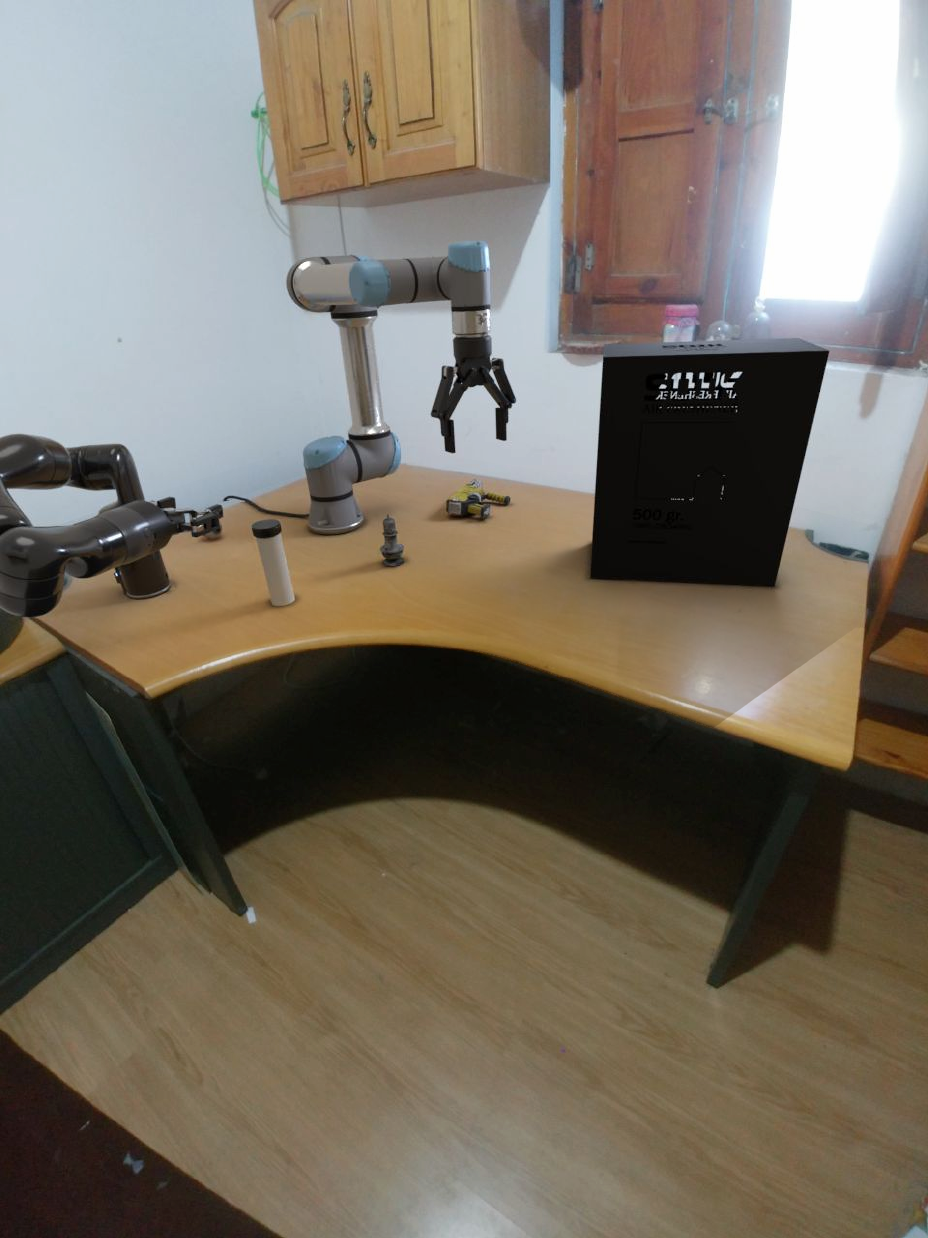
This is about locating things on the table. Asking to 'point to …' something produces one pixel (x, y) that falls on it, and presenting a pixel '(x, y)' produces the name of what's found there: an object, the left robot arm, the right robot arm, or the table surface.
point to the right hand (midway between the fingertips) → (476, 445)
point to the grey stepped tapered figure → (391, 544)
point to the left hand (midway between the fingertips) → (197, 506)
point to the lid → (266, 528)
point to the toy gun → (473, 500)
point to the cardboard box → (701, 458)
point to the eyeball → (214, 533)
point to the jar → (276, 570)
